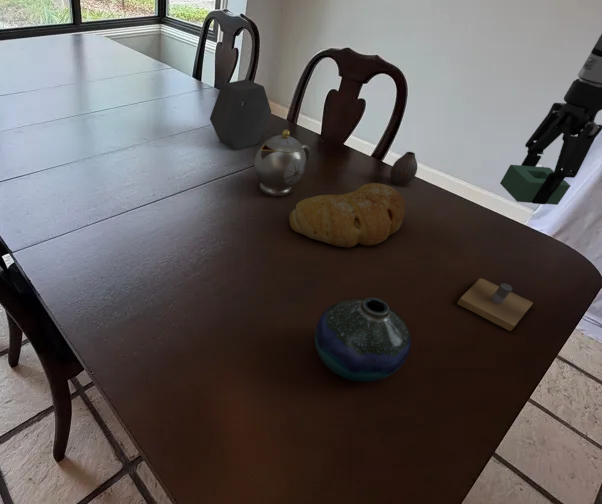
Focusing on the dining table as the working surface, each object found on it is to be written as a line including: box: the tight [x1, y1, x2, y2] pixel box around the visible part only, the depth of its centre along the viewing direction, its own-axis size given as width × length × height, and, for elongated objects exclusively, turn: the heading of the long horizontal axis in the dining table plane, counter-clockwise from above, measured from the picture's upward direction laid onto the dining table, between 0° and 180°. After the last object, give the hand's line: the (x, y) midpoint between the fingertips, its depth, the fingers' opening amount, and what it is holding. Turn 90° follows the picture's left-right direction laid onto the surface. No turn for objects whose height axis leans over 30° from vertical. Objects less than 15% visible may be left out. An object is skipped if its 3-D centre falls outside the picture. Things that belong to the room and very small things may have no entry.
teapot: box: [254, 128, 312, 198], centre depth 118 cm, size 18×14×16 cm
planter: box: [209, 79, 272, 151], centre depth 139 cm, size 17×8×21 cm
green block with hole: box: [499, 164, 572, 206], centre depth 99 cm, size 9×9×4 cm
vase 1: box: [314, 297, 412, 383], centre depth 74 cm, size 15×15×13 cm
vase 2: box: [389, 151, 418, 187], centre depth 128 cm, size 7×7×9 cm
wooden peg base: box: [456, 277, 534, 332], centre depth 90 cm, size 11×11×5 cm
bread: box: [288, 182, 407, 248], centre depth 108 cm, size 32×20×10 cm, turn 117°
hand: (527, 192), depth 100 cm, fingers closed on green block with hole, 9 cm apart
